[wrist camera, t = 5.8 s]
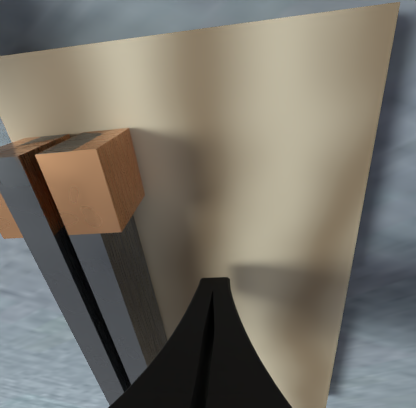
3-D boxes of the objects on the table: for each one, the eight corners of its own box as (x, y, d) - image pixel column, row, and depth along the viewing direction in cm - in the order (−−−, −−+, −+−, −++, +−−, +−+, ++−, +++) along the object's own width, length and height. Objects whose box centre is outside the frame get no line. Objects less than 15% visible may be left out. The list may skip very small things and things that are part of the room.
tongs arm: (128, 127, 11) (96, 149, 8) (192, 391, 19) (186, 443, 17) (75, 133, 11) (25, 155, 8) (161, 391, 20) (151, 442, 17)
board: (376, 10, 10) (400, 1, 8) (318, 391, 21) (324, 413, 20) (4, 60, 11) (-26, 59, 10) (137, 389, 23) (131, 409, 21)
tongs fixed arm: (115, 129, 11) (78, 150, 8) (188, 409, 20) (183, 461, 18) (24, 138, 11) (-40, 161, 8) (139, 408, 21) (126, 458, 18)
